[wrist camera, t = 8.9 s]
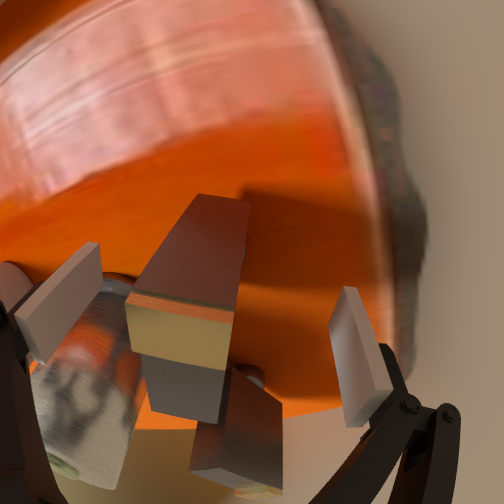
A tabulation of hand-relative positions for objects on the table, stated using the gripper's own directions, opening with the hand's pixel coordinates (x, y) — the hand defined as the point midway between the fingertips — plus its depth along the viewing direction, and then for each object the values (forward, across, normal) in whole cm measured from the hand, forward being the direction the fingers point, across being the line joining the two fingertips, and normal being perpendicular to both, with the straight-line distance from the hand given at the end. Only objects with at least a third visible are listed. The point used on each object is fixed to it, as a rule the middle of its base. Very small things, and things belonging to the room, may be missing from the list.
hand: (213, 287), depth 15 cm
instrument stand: (+5, -7, -9) cm, 12 cm away
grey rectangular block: (+5, 0, 0) cm, 5 cm away
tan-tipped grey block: (+5, +3, -13) cm, 15 cm away
